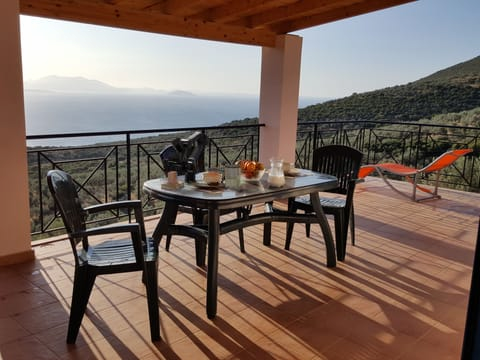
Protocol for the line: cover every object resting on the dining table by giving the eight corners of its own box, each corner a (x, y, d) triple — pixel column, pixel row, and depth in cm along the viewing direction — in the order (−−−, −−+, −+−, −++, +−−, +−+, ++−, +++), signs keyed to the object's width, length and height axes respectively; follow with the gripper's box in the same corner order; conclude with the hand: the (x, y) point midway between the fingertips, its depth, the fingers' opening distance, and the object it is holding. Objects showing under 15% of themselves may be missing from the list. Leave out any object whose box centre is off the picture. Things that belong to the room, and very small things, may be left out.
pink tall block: (172, 186, 286) (171, 171, 284) (177, 187, 285) (177, 171, 283) (168, 187, 282) (167, 172, 280) (173, 188, 280) (173, 173, 278)
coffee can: (223, 184, 294) (224, 164, 291) (239, 184, 296) (239, 164, 293) (226, 188, 284) (226, 166, 281) (241, 187, 286) (242, 166, 283)
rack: (170, 184, 291) (170, 180, 290) (184, 186, 287) (184, 181, 286) (161, 188, 280) (161, 183, 279) (174, 189, 276) (174, 185, 275)
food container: (228, 182, 303) (228, 168, 301) (224, 183, 297) (224, 169, 295) (211, 180, 307) (211, 166, 305) (207, 182, 301) (208, 168, 299)
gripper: (163, 146, 285) (153, 165, 278) (188, 148, 279) (179, 168, 271) (169, 157, 294) (160, 176, 286) (194, 159, 287) (186, 178, 279)
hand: (171, 174), depth 280 cm, fingers open, 9 cm apart
